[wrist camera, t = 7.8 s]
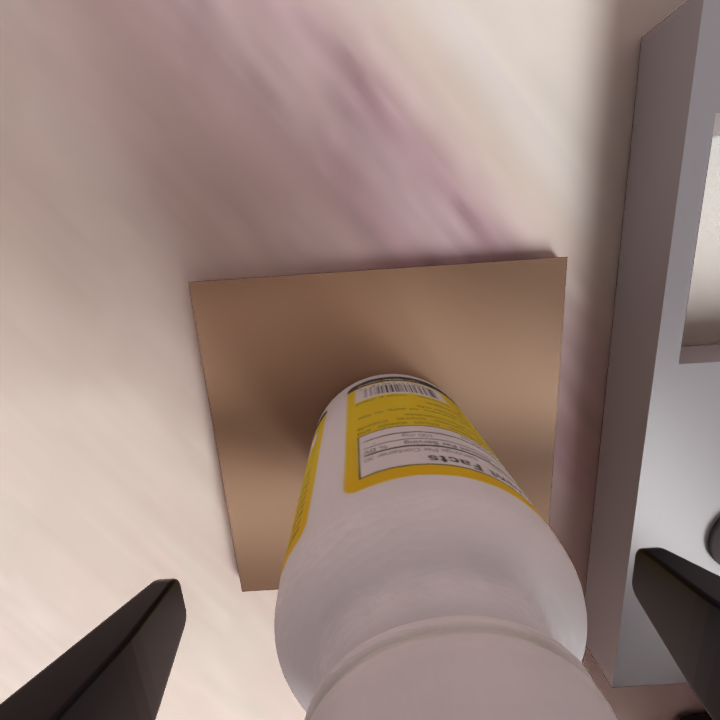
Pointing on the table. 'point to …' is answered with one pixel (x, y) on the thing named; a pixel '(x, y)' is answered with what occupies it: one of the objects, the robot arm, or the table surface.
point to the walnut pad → (372, 373)
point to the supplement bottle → (425, 574)
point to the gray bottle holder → (658, 355)
